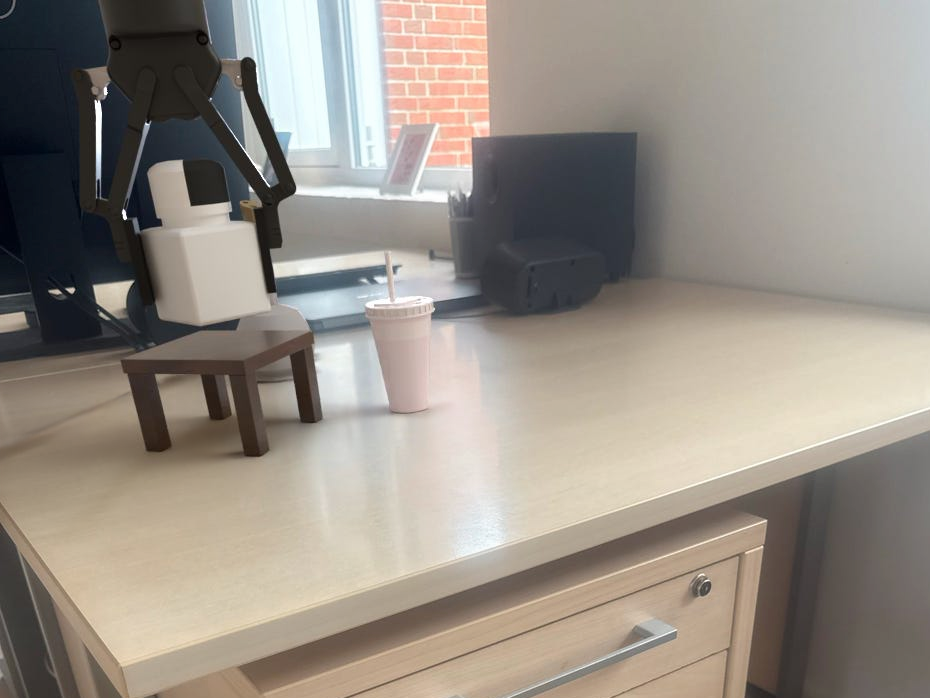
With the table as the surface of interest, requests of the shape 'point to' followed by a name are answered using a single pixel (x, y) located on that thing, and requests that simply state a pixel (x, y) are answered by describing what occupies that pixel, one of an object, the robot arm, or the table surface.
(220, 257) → the medicine bottle
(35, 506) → the table surface
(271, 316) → the potion bottle
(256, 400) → the stand
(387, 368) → the smoothie
